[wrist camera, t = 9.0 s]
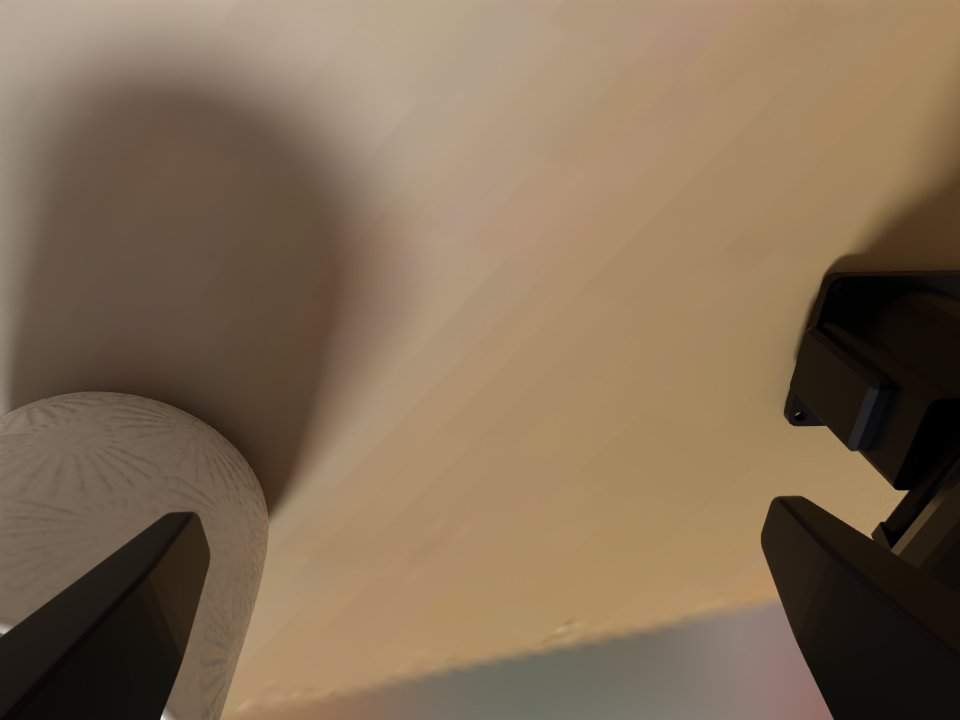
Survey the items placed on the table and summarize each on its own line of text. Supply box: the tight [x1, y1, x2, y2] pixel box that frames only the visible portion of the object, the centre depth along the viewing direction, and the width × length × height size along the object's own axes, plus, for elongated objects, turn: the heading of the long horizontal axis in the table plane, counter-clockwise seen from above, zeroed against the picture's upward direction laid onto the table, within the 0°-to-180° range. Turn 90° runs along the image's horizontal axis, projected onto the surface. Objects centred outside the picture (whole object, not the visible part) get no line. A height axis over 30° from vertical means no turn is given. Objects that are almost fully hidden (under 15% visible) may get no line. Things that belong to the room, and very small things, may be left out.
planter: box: [0, 391, 268, 720], centre depth 20 cm, size 12×12×11 cm
